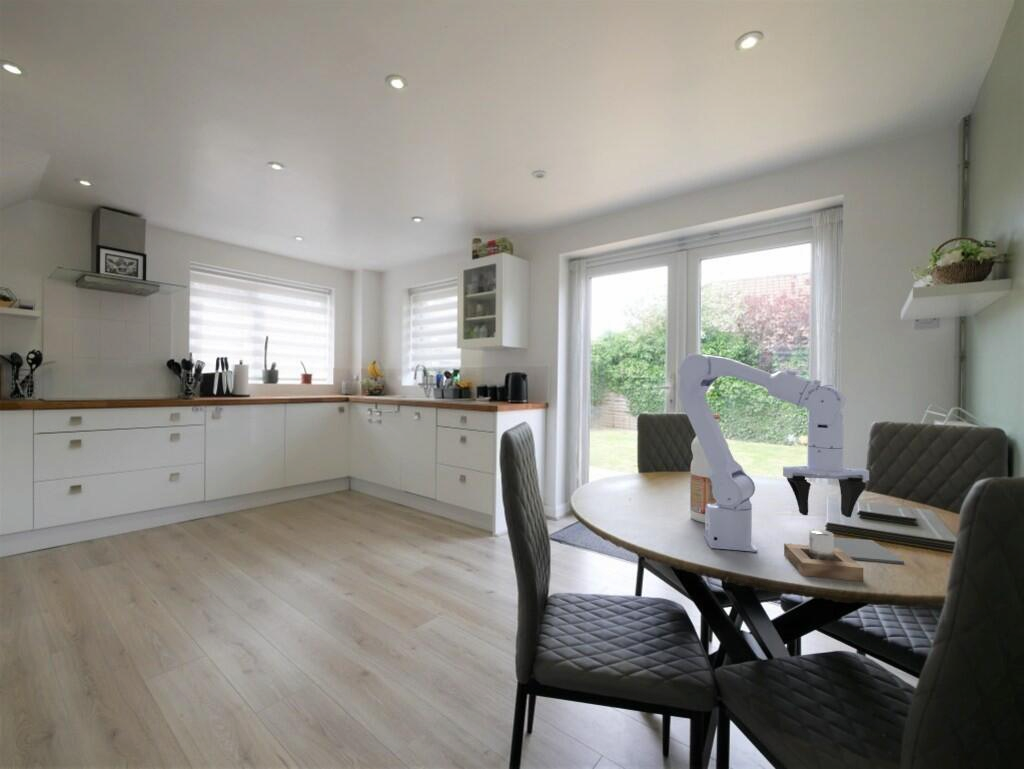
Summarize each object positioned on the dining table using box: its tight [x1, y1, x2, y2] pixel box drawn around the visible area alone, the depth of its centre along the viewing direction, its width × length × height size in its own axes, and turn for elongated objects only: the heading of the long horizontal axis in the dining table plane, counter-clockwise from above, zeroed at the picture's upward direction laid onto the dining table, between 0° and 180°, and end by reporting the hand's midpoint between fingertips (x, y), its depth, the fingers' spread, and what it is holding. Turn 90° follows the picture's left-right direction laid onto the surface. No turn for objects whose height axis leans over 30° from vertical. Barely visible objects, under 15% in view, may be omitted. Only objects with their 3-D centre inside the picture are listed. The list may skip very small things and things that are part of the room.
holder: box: [783, 543, 864, 582], centre depth 89 cm, size 10×10×2 cm
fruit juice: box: [689, 413, 730, 524], centre depth 119 cm, size 9×9×28 cm
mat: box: [834, 536, 905, 565], centre depth 98 cm, size 12×12×1 cm
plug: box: [808, 528, 835, 561], centre depth 89 cm, size 4×4×7 cm
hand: (824, 514), depth 89 cm, fingers open, 7 cm apart
